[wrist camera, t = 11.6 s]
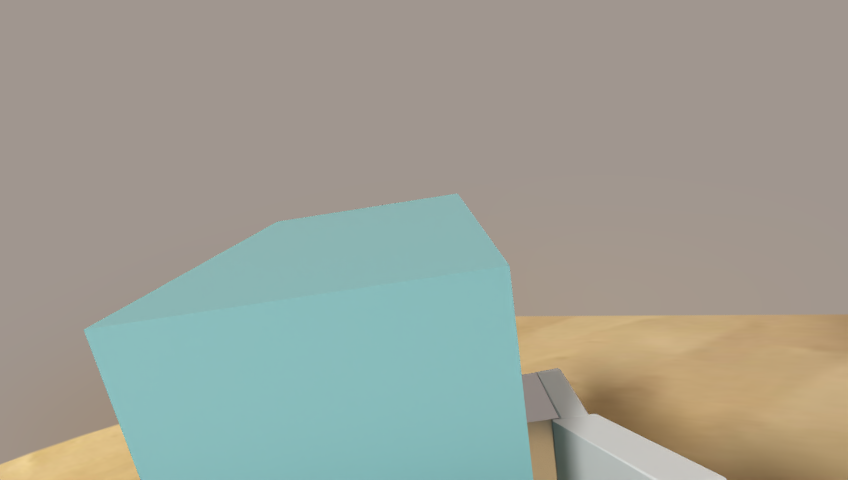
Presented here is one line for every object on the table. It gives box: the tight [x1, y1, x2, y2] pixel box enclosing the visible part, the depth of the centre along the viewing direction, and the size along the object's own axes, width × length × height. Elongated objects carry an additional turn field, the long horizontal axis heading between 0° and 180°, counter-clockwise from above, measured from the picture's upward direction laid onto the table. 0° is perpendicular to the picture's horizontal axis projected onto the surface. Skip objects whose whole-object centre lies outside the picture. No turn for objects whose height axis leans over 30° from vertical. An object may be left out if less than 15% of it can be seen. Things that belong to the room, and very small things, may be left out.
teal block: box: [84, 194, 533, 480], centre depth 8 cm, size 4×6×10 cm
